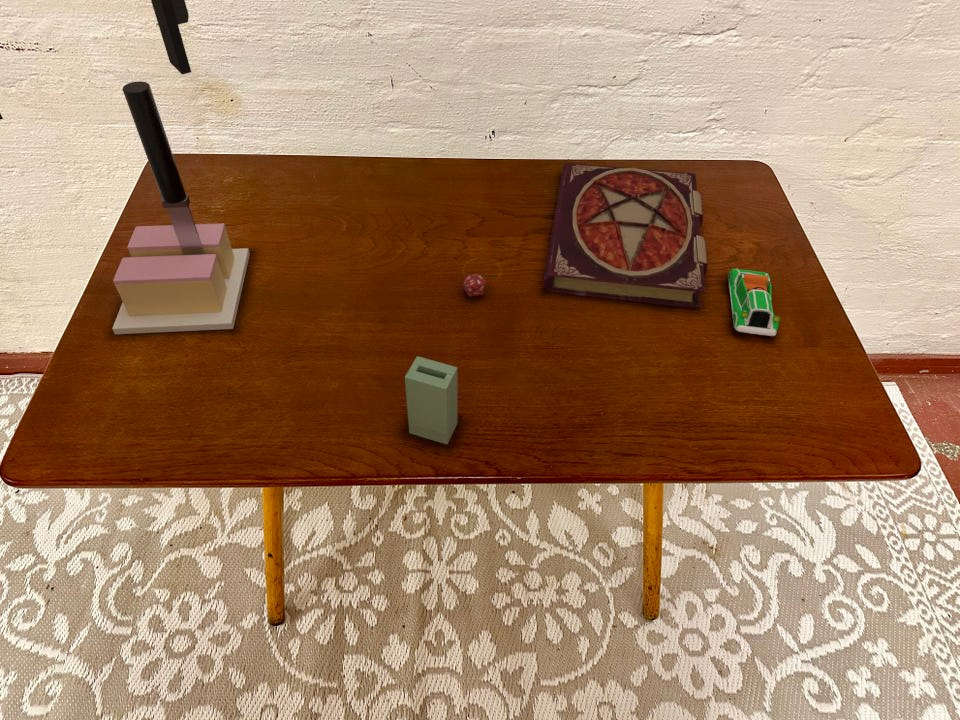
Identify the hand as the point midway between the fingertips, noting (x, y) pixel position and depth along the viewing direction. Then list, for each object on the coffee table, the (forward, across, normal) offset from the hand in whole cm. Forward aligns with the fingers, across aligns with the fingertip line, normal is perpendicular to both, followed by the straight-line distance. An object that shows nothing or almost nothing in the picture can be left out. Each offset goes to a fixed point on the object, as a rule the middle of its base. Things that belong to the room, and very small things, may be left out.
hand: (92, 89), depth 52 cm
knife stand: (+35, -17, +19) cm, 43 cm away
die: (+35, -34, +4) cm, 49 cm away
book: (+35, -59, +7) cm, 69 cm away
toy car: (+35, -61, +27) cm, 76 cm away
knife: (+34, -6, -17) cm, 38 cm away
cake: (+35, -4, -18) cm, 39 cm away
